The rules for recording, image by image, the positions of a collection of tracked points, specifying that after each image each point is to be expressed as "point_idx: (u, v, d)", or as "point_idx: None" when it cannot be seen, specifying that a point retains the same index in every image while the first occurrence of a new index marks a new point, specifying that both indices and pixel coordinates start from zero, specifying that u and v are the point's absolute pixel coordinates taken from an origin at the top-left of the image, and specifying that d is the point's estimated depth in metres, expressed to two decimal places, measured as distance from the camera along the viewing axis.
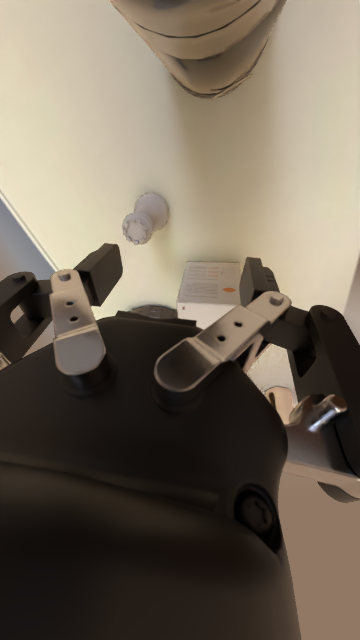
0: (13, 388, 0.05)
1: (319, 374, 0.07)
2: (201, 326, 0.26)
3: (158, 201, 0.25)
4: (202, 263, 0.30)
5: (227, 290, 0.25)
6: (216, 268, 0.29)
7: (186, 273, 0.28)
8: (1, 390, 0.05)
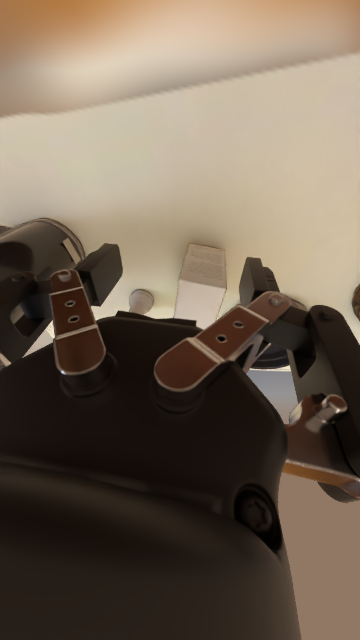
0: (13, 388, 0.05)
1: (319, 374, 0.07)
2: (201, 317, 0.26)
3: (131, 297, 0.37)
4: None
5: None
6: None
7: None
8: (1, 390, 0.05)
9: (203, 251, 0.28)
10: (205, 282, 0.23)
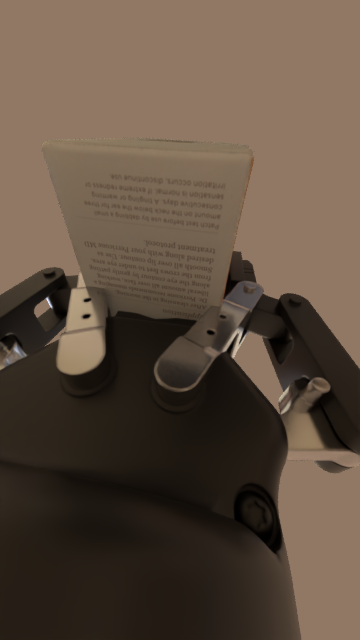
0: (12, 388, 0.05)
1: (298, 359, 0.07)
2: None
3: None
4: None
5: None
6: None
7: None
8: (1, 388, 0.05)
9: (130, 240, 0.06)
10: None
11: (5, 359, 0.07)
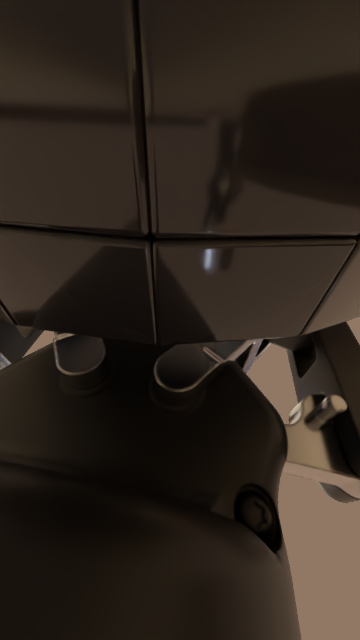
0: (13, 388, 0.05)
1: (319, 374, 0.07)
2: None
3: None
4: None
5: None
6: None
7: None
8: (1, 390, 0.05)
9: None
10: None
11: None
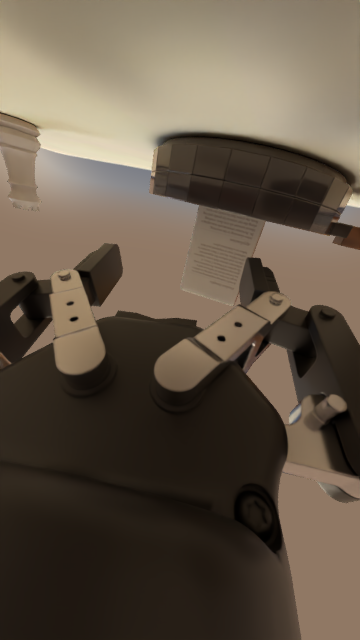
0: (13, 388, 0.05)
1: (319, 374, 0.07)
2: None
3: None
4: None
5: None
6: None
7: None
8: (1, 390, 0.05)
9: None
10: (210, 294, 0.19)
11: None
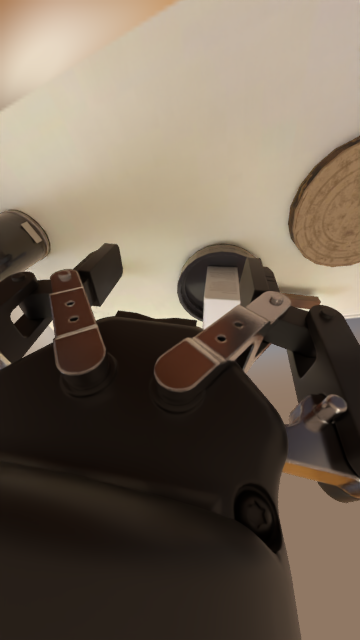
0: (13, 388, 0.05)
1: (319, 374, 0.07)
2: None
3: None
4: None
5: None
6: None
7: None
8: (1, 390, 0.05)
9: (219, 271, 0.36)
10: (224, 297, 0.31)
11: None
